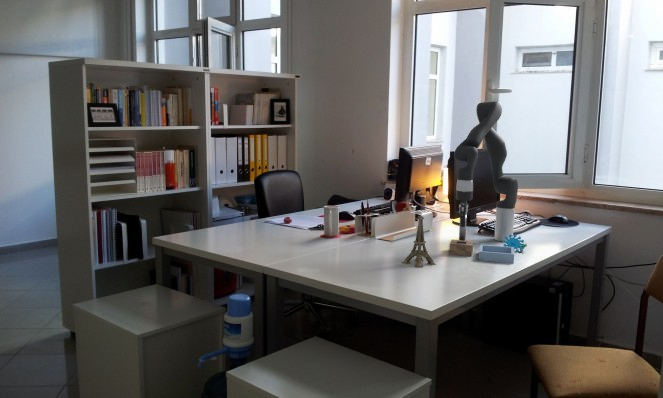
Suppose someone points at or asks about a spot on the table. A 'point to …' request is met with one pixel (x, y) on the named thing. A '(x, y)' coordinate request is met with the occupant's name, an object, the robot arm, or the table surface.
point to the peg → (462, 231)
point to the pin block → (461, 247)
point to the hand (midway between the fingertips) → (462, 225)
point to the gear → (514, 243)
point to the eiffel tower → (419, 247)
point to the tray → (496, 253)
